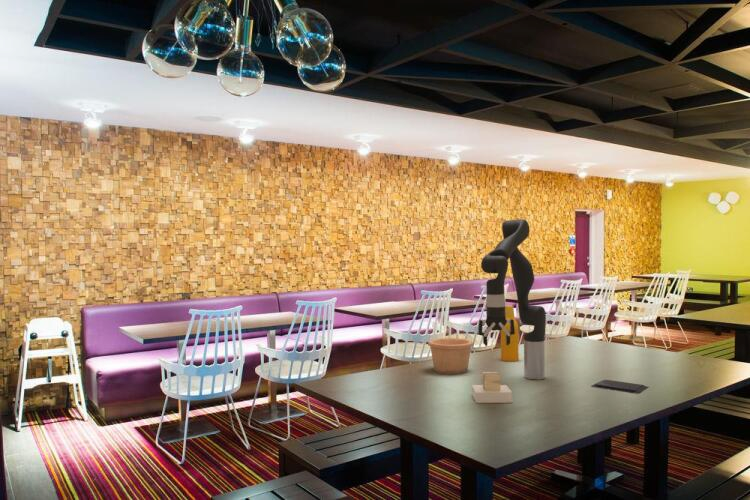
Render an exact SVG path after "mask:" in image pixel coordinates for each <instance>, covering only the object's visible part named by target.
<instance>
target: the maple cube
mask: <svg viewBox="0 0 750 500" xmlns="http://www.w3.org/2000/svg"><path fill="white" fill-rule="evenodd" d="M482 385H483V388H484V390H485V391H500V385H501V374H500V373H499V372H498V371H483V372H482Z"/></svg>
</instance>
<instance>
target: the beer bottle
mask: <svg viewBox="0 0 750 500" xmlns="http://www.w3.org/2000/svg"><path fill="white" fill-rule="evenodd" d="M514 310H515V309H514V305H505V316H506V320H510V319H512V320H514V330H515V334H512V335H511V336H510V344H509V345H506V333H505V332H504V331H503V330H501V331H500V358H501V361H503V362H510V361H511V362H517V361H519V355H520V354H519V325H518V322H517V320H516V317H515V313H514V312H515V311H514ZM504 327H505V328H506V329H507V331H508V332H510V325H509V324H508V322H507V323H506V325H505V326H504Z"/></svg>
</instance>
